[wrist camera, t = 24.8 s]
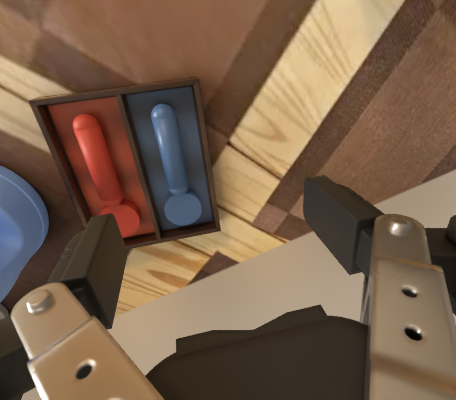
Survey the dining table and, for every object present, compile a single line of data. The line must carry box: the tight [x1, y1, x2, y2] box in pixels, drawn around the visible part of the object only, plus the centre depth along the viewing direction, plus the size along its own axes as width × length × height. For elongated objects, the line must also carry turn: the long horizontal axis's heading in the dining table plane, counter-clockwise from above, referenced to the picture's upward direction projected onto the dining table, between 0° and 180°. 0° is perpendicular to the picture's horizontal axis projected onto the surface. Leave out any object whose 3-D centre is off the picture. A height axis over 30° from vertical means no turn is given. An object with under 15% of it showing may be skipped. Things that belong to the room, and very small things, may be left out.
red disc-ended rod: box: [73, 114, 141, 237], centre depth 34 cm, size 17×5×3 cm, turn 6°
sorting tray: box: [29, 77, 221, 249], centre depth 36 cm, size 21×18×3 cm
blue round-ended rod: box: [151, 104, 202, 226], centre depth 35 cm, size 17×5×3 cm, turn 6°
